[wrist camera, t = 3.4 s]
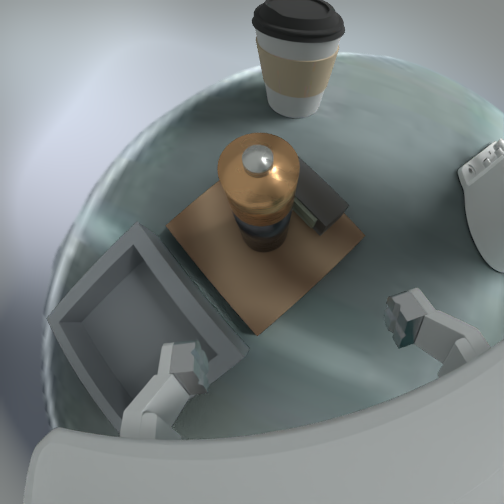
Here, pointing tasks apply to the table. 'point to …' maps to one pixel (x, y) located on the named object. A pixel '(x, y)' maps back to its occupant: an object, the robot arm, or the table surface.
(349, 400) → the table surface
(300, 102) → the coffee cup
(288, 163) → the battery cell
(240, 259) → the plate
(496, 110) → the table surface
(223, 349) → the bin
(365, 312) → the table surface
